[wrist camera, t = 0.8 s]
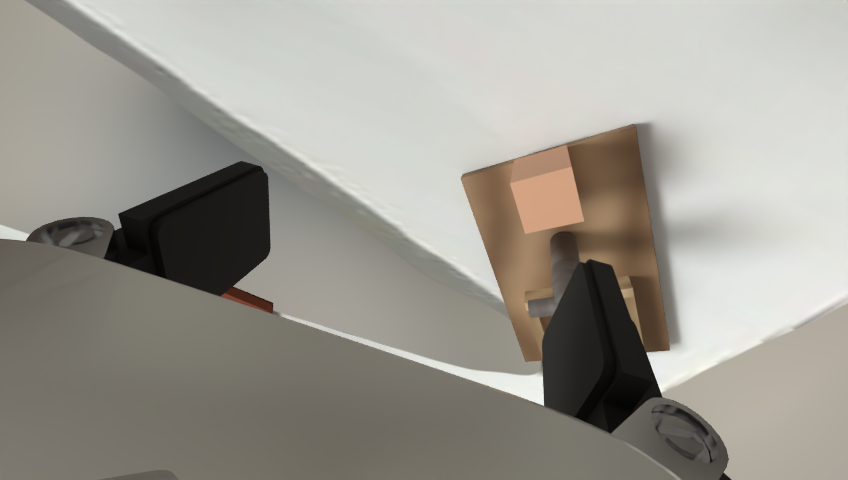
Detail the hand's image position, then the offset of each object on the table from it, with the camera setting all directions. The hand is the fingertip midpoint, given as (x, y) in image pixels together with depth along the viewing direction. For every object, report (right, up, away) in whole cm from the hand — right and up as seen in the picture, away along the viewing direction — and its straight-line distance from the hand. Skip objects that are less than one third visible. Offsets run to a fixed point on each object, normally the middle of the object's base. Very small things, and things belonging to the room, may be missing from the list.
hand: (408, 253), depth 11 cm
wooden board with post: (+15, -2, +27) cm, 31 cm away
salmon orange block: (+11, +6, +23) cm, 26 cm away
